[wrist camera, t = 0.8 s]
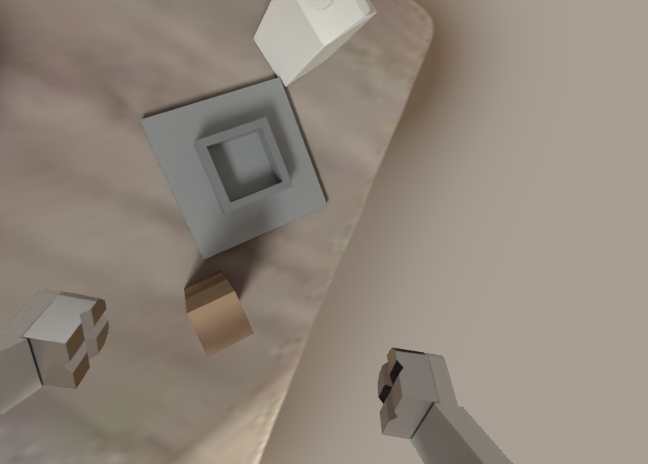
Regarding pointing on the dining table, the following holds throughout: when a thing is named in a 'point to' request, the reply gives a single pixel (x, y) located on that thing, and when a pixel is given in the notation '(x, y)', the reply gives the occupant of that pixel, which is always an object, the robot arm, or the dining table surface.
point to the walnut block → (216, 313)
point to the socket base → (236, 165)
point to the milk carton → (307, 32)
